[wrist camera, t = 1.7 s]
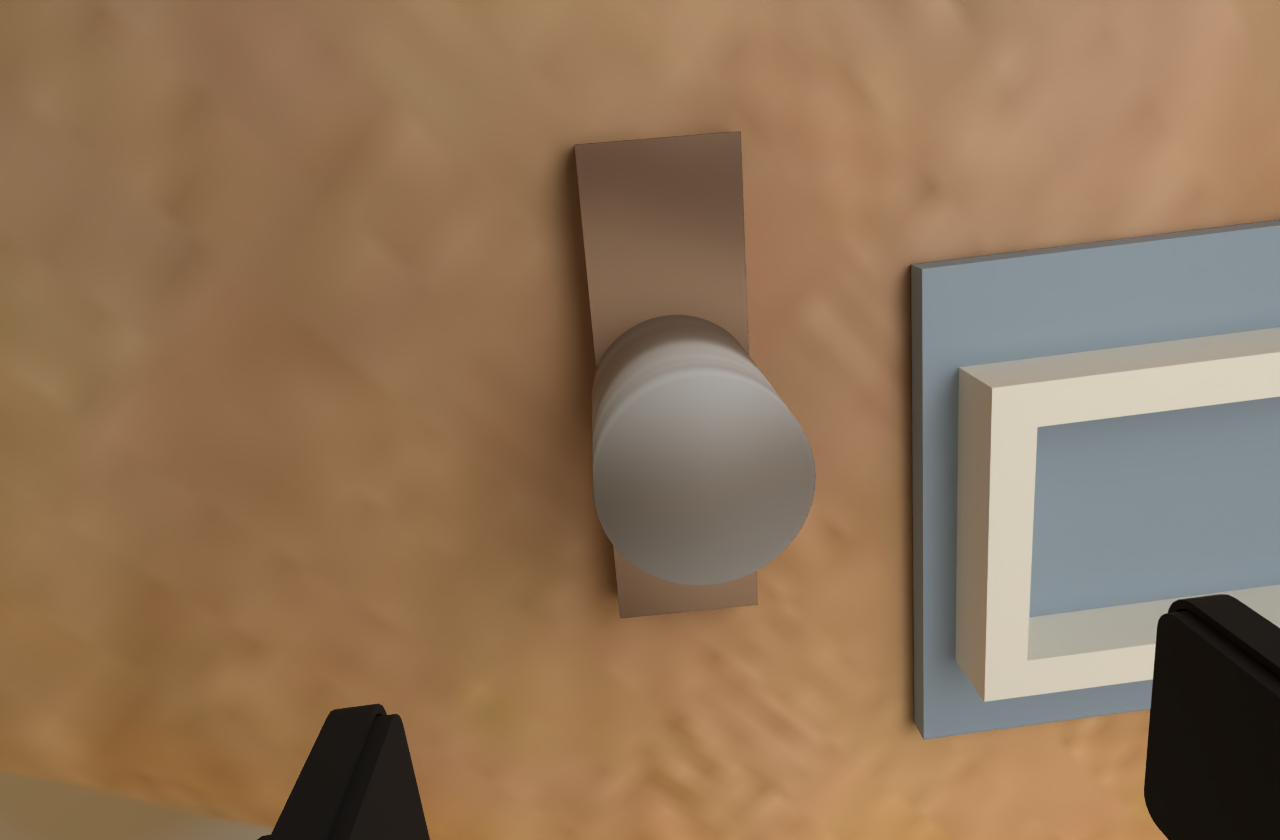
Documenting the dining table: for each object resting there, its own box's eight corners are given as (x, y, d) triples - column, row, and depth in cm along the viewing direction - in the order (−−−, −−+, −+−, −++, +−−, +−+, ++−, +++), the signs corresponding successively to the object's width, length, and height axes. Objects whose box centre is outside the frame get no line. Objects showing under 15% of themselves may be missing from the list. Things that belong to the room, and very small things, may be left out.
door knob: (567, 145, 22) (557, 148, 14) (738, 131, 22) (811, 128, 15) (611, 592, 26) (620, 766, 19) (754, 578, 26) (818, 745, 19)
